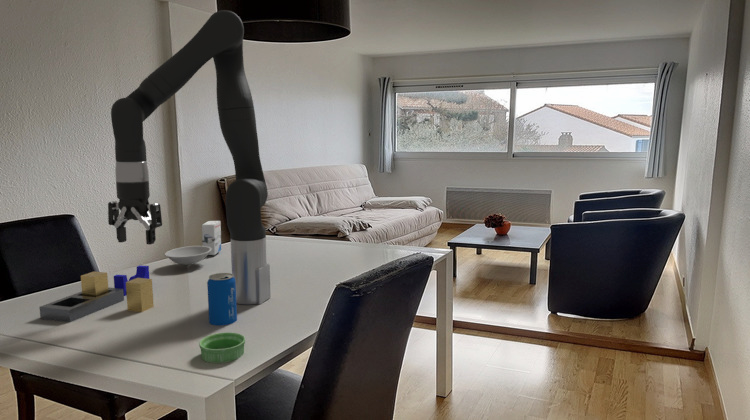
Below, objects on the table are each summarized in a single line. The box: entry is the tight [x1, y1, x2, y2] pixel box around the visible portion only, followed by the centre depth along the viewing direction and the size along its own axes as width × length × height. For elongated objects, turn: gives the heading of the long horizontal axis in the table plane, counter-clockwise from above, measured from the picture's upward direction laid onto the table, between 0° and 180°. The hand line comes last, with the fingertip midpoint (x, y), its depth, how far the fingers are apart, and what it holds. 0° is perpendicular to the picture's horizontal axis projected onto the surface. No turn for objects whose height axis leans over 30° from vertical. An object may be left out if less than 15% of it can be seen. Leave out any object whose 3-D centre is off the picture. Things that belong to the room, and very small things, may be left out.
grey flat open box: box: [39, 286, 125, 323], centre depth 137 cm, size 9×18×4 cm, turn 164°
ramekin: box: [198, 331, 246, 364], centre depth 107 cm, size 9×9×4 cm
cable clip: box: [113, 265, 150, 297], centre depth 154 cm, size 12×4×6 cm, turn 170°
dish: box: [164, 245, 212, 267], centre depth 183 cm, size 18×14×5 cm
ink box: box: [201, 220, 222, 256], centre depth 201 cm, size 9×5×12 cm, turn 179°
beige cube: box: [80, 271, 109, 297], centre depth 140 cm, size 4×4×8 cm
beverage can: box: [206, 272, 238, 327], centre depth 127 cm, size 6×6×12 cm
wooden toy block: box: [126, 278, 155, 313], centre depth 137 cm, size 4×4×8 cm
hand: (136, 242), depth 135 cm, fingers open, 8 cm apart
